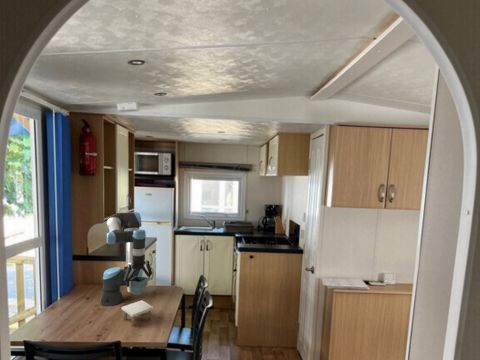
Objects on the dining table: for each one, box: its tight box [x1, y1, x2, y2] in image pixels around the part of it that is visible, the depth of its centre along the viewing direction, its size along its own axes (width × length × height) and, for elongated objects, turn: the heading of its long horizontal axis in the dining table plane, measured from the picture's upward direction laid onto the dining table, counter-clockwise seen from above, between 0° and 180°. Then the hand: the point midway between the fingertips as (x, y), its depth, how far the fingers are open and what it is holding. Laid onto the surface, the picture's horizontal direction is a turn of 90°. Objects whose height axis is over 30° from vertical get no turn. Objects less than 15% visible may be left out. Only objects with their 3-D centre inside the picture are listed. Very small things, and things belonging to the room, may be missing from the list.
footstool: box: [121, 300, 154, 327], centre depth 179 cm, size 14×14×8 cm
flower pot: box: [130, 276, 149, 296], centre depth 179 cm, size 9×9×9 cm
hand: (138, 288), depth 179 cm, fingers closed on flower pot, 11 cm apart
